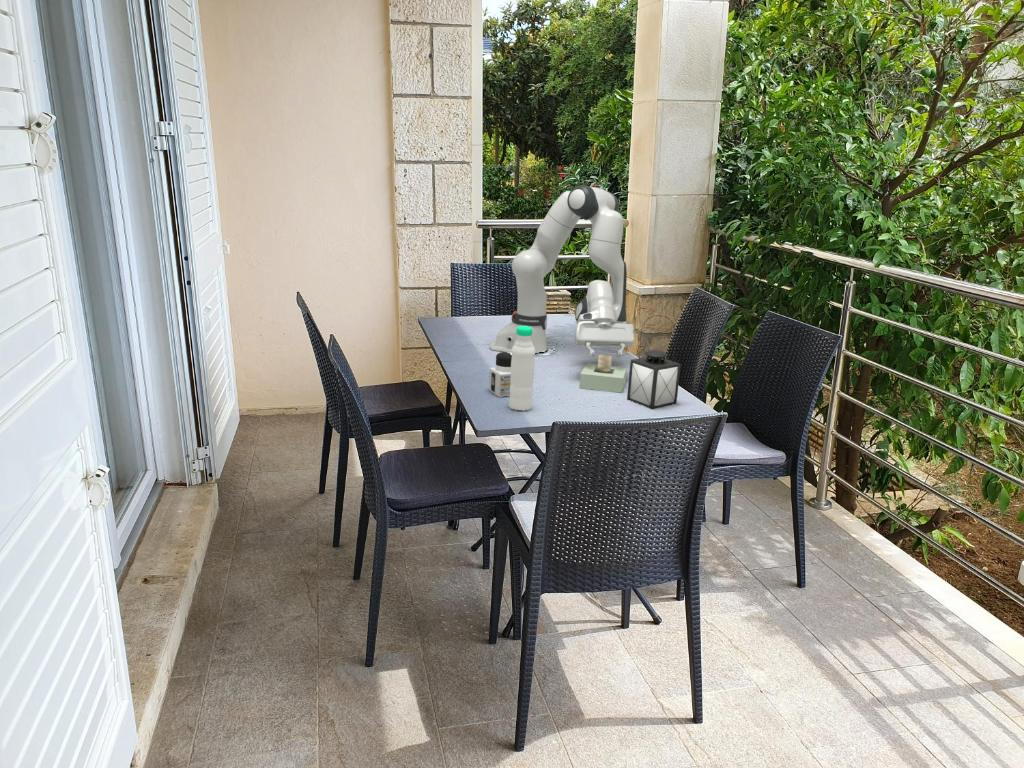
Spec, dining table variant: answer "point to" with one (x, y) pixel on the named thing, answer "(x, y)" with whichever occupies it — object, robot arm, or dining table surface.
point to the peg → (604, 364)
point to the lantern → (653, 379)
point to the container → (501, 375)
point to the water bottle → (522, 370)
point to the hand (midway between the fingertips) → (605, 355)
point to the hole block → (603, 378)
